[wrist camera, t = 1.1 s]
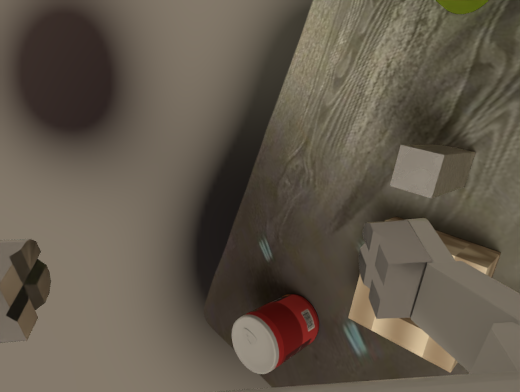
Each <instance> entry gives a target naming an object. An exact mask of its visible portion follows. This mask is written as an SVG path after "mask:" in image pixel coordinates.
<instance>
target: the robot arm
mask: <svg viewBox="0 0 520 392" xmlns="http://www.w3.org/2000/svg"><path fill="white" fill-rule="evenodd" d="M362 236H363V238H364V241H365V244H364V245H363V246H362V247H361V248H360V251H359V271H360V275H361V279H362V281H363V284H364V285H365V286H367V287H368V288H369V289H370V292H369V297H368V298H369V300H370V303H371V306H372V308H373V311H374V314H375V316H376V319H385V318H411V320H412V321H413V322H414V323H415V324H416V325H418V326H419V327H420V328H421V329H422V330H423V331H424V332H425V333H426V334H428V335H429V336H430V337H431V338H432V339H433V340H434V341H435V342H436V343H437V344H439V345H440V346H441V347H442V348H443V349H444V350H445V351H446V352H447V353H449V354H450V355H451V356H452V357H453V358H454V359H455V360H456V361H457V362H459V363H460V364H461V365H462V366H463V367H464V368H465V369H466V370H467V371H469V372H470V374H462V375H447V376H433V377H418V378H404V379H389V380H375V381H360V382H346V383H332V384H317V385H303V386H289V387H275V388H260V389H246V390H232V391H218V392H520V294H519V293H518V292H516V291H514V290H512V289H511V288H509V287H507V286H505V285H504V284H502V283H500V282H498V281H496V280H495V279H493V278H491V277H489V276H488V275H486V274H484V273H482V272H481V271H479V270H477V269H475V268H473V267H472V266H470V265H468V264H466V263H465V262H463V261H455V259H454V258H453V256H452V255H451V253H450V252H449V250H448V249H447V247H446V246H445V244H444V243H443V241H442V240H441V238H440V237H439V235H438V234H437V233H436V231H435V230H434V228H433V227H432V225H431V224H430V222H429V221H428V220H427V219H425V218H418V219H405V220H397V221H379V222H366V223H365V225H364V227H363V232H362ZM40 252H41V251H40V249H39V247H38V245H37V242H36V241H34V240H31V239H20V240H0V343H5V342H16V341H27V340H28V337H29V335H30V333H31V331H32V329H33V327H34V325H35V323H36V321H37V319H38V316H37V314H36V312H35V310H36V309H37V308H39V307H40V306H41V305H43V304H44V303H45V302H46V299H47V297H48V295H49V291H50V283H51V280H50V273H49V270H48V268H47V265H46V264H44V263H43V262H41V261H40V260H38V259H37V258H38V256H39V254H40Z"/></svg>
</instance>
